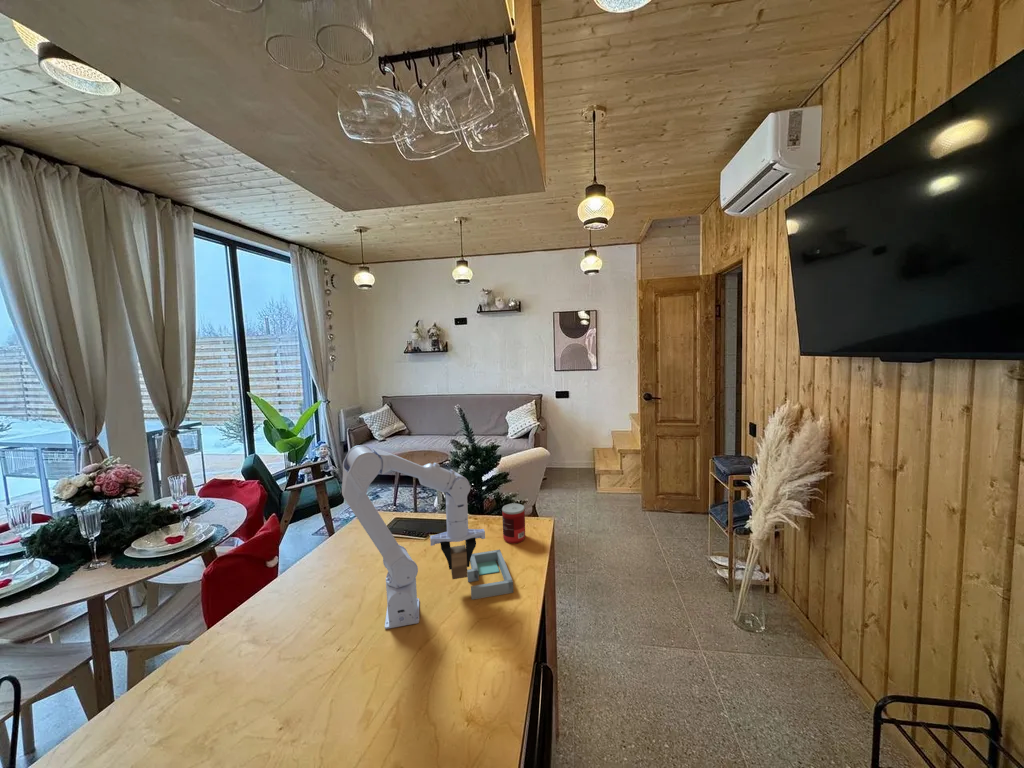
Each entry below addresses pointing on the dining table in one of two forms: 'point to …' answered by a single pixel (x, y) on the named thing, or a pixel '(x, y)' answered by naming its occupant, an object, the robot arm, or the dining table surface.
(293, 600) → the dining table surface
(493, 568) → the pad
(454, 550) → the block
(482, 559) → the grey open rectangular frame
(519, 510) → the canned food
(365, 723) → the dining table surface
